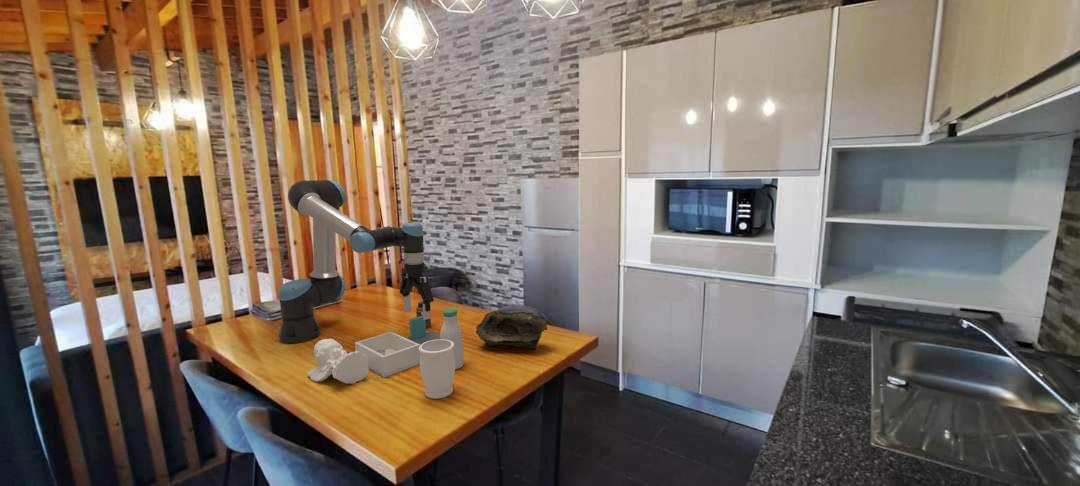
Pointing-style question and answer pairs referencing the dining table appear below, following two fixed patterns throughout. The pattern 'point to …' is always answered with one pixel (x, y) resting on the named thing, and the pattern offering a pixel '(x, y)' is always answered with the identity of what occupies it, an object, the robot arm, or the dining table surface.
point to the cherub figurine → (338, 363)
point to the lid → (420, 331)
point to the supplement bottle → (420, 313)
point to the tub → (389, 353)
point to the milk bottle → (453, 335)
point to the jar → (437, 367)
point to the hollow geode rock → (511, 329)
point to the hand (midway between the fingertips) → (417, 315)
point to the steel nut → (381, 352)
